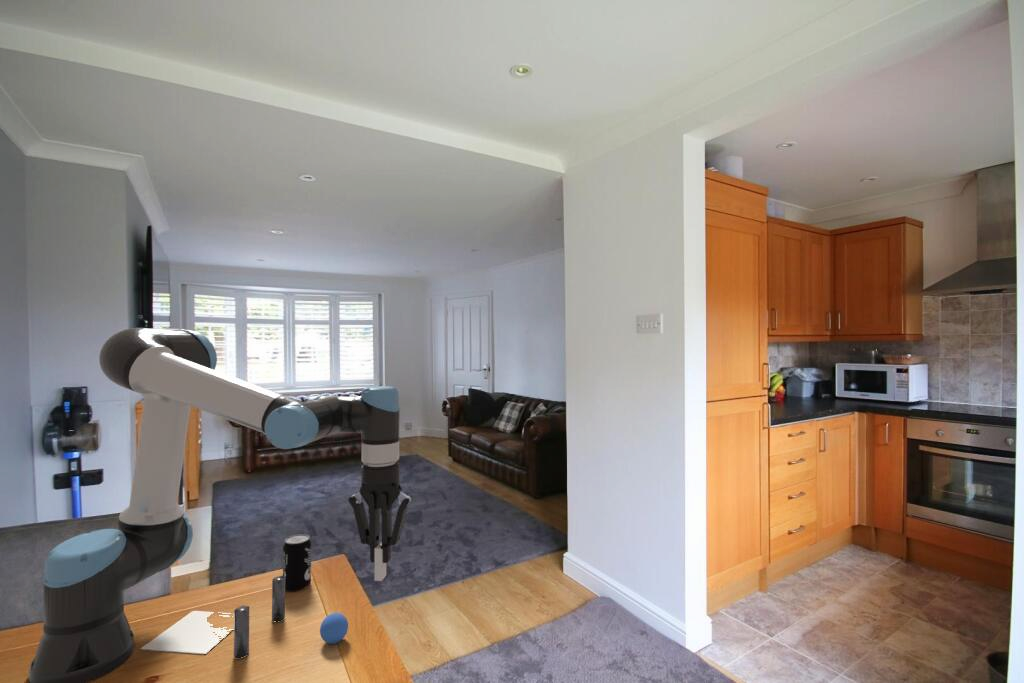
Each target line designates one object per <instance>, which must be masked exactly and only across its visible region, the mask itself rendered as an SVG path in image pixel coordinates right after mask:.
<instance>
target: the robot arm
mask: <svg viewBox="0 0 1024 683" xmlns="http://www.w3.org/2000/svg"><path fill="white" fill-rule="evenodd" d="M98 356H99V360H98V361H99V365H100V368H101V371H102V373H103V374H104V375H105V376H106V377H107V378H108V380H109V381H111V382H112V383H114V384H115V385H118V386H119V387H122V388H124V389H127V390H130V391H132V392H135V393H138V394H140V395H142V398H143V404H142V410H141V417H140V425H139V431H138V439H137V440H138V441H137V447H136V454H135V462H134V470H133V476H132V484H131V491H130V498H129V505H128V507H126V508H125V509H124V510H123V511H121V512H120V513H119V516H118V522H117V529H116V528H103V529H96V530H92V531H90V532H87V533H85V532H84V533H81V534H78V535H76V536H73V537H71V538H69V539H66V540H65V541H63V542H61V543H59V544H58V545H56V546H55V547H54V548H53V549H52V550H50V552H49V553H48V554H47V556H46V557H45V561H44V570H43V573H42V583H43V613H42V614H43V623H42V624H43V625H42V627H43V628H42V635H41V638H40V641H39V643H38V646H37V650H36V652H35V653H36V654H35V657H34V658H33V659H32V661H31V662H30V664H29V665H30V666H29V669H28V670H29V671H28V682H30V683H88V682H91V681H94V680H96V679H98V678H100V677H103V676H105V675H107V674H109V673H110V672H112V671H114V670H115V669H117V668H119V667H120V666H121V665H123V664H124V663H125V662H126V661H127V660H129V658H130V657H131V656H132V655H133V653H134V651H135V643H136V642H135V641H136V640H135V634H134V632H133V630H132V629H131V625H130V623H129V620H128V618H127V616H126V613H125V591H127V590H128V589H130V588H132V587H133V586H135V585H137V584H139V583H141V582H143V581H144V580H146V579H148V578H150V577H151V576H153V575H155V574H157V573H160V572H162V571H165V570H166V569H168V568H170V567H172V566H173V565H174V564H175V563H176V562H178V561H180V559H182V558H183V557H184V556H185V555H186V553H188V551H189V549H190V548H191V545H192V541H193V536H194V531H193V525H192V524H191V523H189V522H190V519H189V518H188V517H187V515H185V509H184V508H183V506H181V505H180V504H179V503H178V501H179V493H180V485H181V479H182V474H183V471H182V470H183V465H184V457H185V451H186V450H185V449H186V441H187V436H188V429H189V422H190V421H189V420H190V413H191V407H193V408H195V409H198V410H200V411H203V412H206V413H208V414H211V415H214V416H216V417H219V418H222V419H225V420H228V421H230V422H233V423H235V424H238V425H241V426H244V427H246V428H249V429H252V430H254V431H257V432H260V433H262V434H265V437H266V438H267V440H268V441H269V442H270V443H271V444H272V446H274V447H275V448H278V449H281V450H289V449H290V450H291V449H296V448H301V447H303V446H304V447H305V446H307V445H308V444H309V443H313V442H315V441H318V440H320V439H323V438H326V437H328V436H331V435H334V434H339V433H340V434H344V433H345V434H347V433H348V434H349V433H351V434H353V433H354V434H359V433H360V434H361V456H360V457H361V458H360V459H361V462H362V463H363V464H362V465H361V485H360V488H359V491H358V492H357V493H354V494H353V495H351V496H350V497H348V503H349V504H350V506H351V507H352V509H353V513H354V518H355V522H356V525H357V526H356V527H357V530H358V535H359V540H360V543H361V544H362V545H368V546H369V550H370V551H369V552H370V553H369V554H370V555H369V558H370V560H369V561H370V563H374V581H375V582H376V581H377V582H382V581H383V580H384V578H385V577H386V576H387V564H388V563H389V562H390V561H391V559H392V556H391V554H392V550H391V548H392V546H395V545H396V544H397V543H398V542H399V541H400V540H401V535H402V533H403V532H402V530H403V528H404V523H405V518H406V515H407V510H408V507H409V504H410V503H411V502H412V501H413V496H412V495H410V494H408V495H407V494H406V493H405V492H403V491H402V486H401V483H400V463H399V460H400V417H401V416H400V411H401V406H400V395H399V394H400V393H399V390H398V389H397V387H395V386H387V385H386V386H385V385H384V386H383V385H382V386H380V385H379V386H366V387H364V388H362V390H361V394H360V395H359V396H358V395H357V396H347V395H346V396H345V395H342V396H341V395H328V394H327V395H326V394H323V395H316V396H315V395H314V396H310V397H308V398H307V400H306V401H301V400H299V399H295V398H293V397H290V396H286V395H284V394H281V393H279V392H277V391H273V390H271V389H268V388H266V387H263V386H260V385H258V384H254V383H252V382H249V381H247V380H244V379H241V378H237V377H235V376H233V375H229V374H226V373H224V372H221V371H220V370H219V371H218V370H216V366H217V362H218V356H217V352H216V349H215V346H214V344H213V343H212V342H211V341H210V339H209V338H208V337H207V336H206V335H204V334H203V333H202V332H198V331H195V330H189V329H184V328H153V327H152V328H150V327H148V328H147V327H132V328H131V327H130V328H127V329H123V330H121V331H118V332H116V333H115V334H113V335H112V336H110V337H109V338H108V339H107V340H105V342H104V344H103V345H102V347H101V350H100V352H99V355H98ZM397 500H398V505H399V507H398V509H397V513H396V516H395V521H394V525H393V528H392V520H393V519H392V514H393V513H392V511H393V505H394V503H395V502H396V501H397ZM363 501H364V502H365V503H366V505H367V506H368V509H367V510H368V515H369V520H368V517H367V513H366V507H365V504H364V502H363ZM380 515H381V538H380ZM368 521H369V522H368ZM380 541H381V542H380Z"/></svg>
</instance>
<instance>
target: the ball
mask: <svg viewBox="0 0 1024 683" xmlns="http://www.w3.org/2000/svg"><path fill="white" fill-rule="evenodd" d="M348 630H349V622H348V619H347V617H346V616H345V615H344V614H343V613H340V612H333V613H330V614H328V615H327V616H325V618H324V619H323V620H322V622H321V623H320V627H319V635H320V638H321V639H322V640H323V642H325V643H327V644H337V643H339V642H341V641H342V640H343V639H344V638H345V637H346V635H347V633H348Z"/></svg>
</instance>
